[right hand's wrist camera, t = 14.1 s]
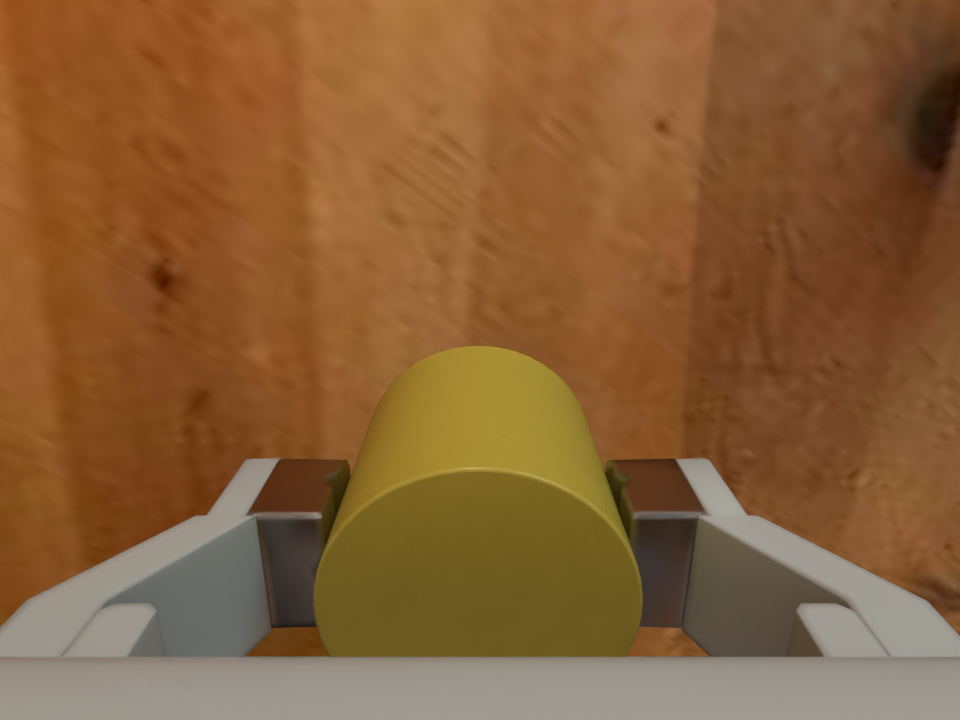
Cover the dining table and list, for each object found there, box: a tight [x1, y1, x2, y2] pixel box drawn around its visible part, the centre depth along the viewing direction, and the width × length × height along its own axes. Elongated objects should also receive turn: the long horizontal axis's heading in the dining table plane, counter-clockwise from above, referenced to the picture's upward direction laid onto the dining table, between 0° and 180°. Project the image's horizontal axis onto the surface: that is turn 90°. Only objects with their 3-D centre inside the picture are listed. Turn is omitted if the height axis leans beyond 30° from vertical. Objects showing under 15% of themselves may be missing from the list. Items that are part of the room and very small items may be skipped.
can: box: [313, 346, 643, 657], centre depth 10 cm, size 4×4×4 cm
